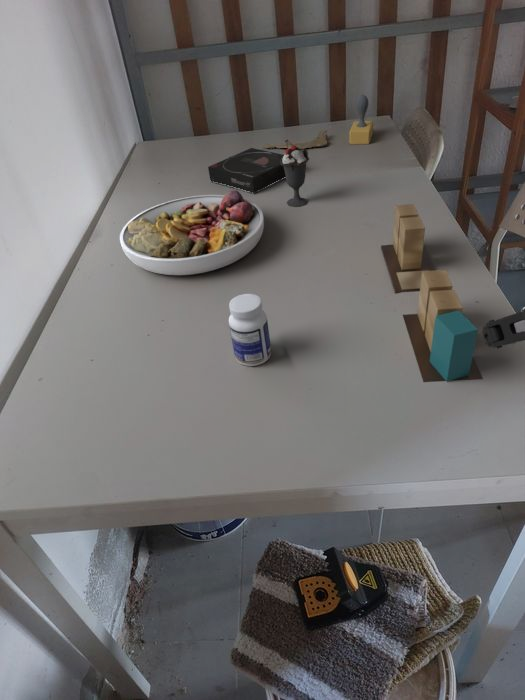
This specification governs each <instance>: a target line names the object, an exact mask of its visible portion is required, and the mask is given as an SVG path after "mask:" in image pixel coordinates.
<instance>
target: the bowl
mask: <svg viewBox="0 0 525 700" xmlns="http://www.w3.org/2000/svg"><path fill="white" fill-rule="evenodd" d="M264 228H265V218H264V213H263V211H262V209H261V208H260V207H259V205H257V204H255V202H252V201H250V200H248V199H246V198H244V197H243V195H242V193H241V192H239V190H237V189H233V190H229V191H228V192H227V193H226V194H202V195H191V196H185V197H180V198H176V199H172V200H168V201H165V202H162V203H159V204H157V205H154V206H151V207H150V208H147V209H145V210H143V211H141V212H140V213H138V214H137V215H135V216H133V217H132V218H131V219H130V220H129V221H127V222H126V224H125V225H124V226H123V228H122V229H121V231H120V233H119V242H120V243H119V244H120V246H121V248H122V251H123V253H124V254H125V255H126V257H127V258H128V259H129V260H130V261H131V262H132V263H133V264H135V266H138V267H139V268H141V269H142V270H146V271H148V272H151V273H155V274H159V275H168V276H190V275H198V274H204V273H209V272H213V271H215V270H219V269H221V268H224V267H226V266H229V265H232V264H233V263H236V262H237V261H239V260H240V259H243V258H244V257H245V256H246V255H248V254H249V253H250V252H251V251H252V250H253V249H254V248H255V247H256V246H257V244H258V243H259V241H260V240H261V238H262V236H263V233H264Z"/></svg>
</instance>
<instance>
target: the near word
mask: <svg viewBox="0 0 525 700" xmlns="http://www.w3.org/2000/svg"><path fill="white" fill-rule="evenodd" d="M434 270H435V269H434ZM453 287H454V286H453V283H452V281H451V280H450V278H449V275H448V273H447V271H446V269H439V270H438V269H436V270H435V271H422V277H421V286H420V291H419V294H418V304H417V313H410V314H409V313H408V314H402V318H403V321H404V324H405V328H406V330H407V334H408V337H409V340H410V345H411V347H412V350H413V353H414V356H415V357H414V358H415V360H416V363H417V366H418V369H419V372H420V375H421V379H422V382H423V383H434V382H437V383H438V382H446V380H445V379H444V378H443V377H442V376H441V374H440V373H439V372H438V371H437V370H436V369H435V367H434V366H433V365H432V364H431V363H430V354H431V347H432V339H433V332H434V325H435V317H436V316H439V315H442V314H446V313H450V312H454V311H460V312H461V313H462V314H463V310H464V307H463V305H462V303H461V300H460V299H459V297H458V295H457V292H456V290H455V289H453ZM481 373H482V372H481V371H480V369H479V366H478V364H477V362H476V359H475V357H474V356H473V357H472V362H471V367H470V372H469V376H465V377H462V378H458V379H454V380H451V381H450V382H453V381H455V382H456V381H472V380H473V381H474V380H475V381H476V380H484V377H483V375H482V374H481Z"/></svg>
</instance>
